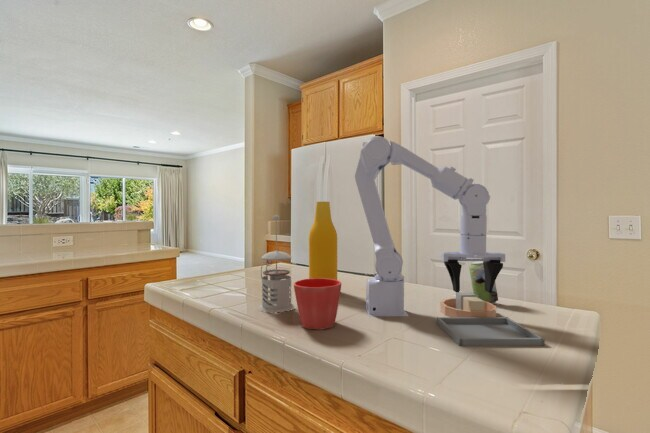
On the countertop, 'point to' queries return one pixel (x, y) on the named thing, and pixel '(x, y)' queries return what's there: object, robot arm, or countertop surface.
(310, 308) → the flower pot
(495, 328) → the tray
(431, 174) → the robot arm
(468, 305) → the cream wooden cube
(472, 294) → the grey sharp-edged cube
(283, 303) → the french press
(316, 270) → the beer bottle
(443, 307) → the bowl
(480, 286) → the beverage can
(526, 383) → the countertop surface
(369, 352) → the countertop surface
